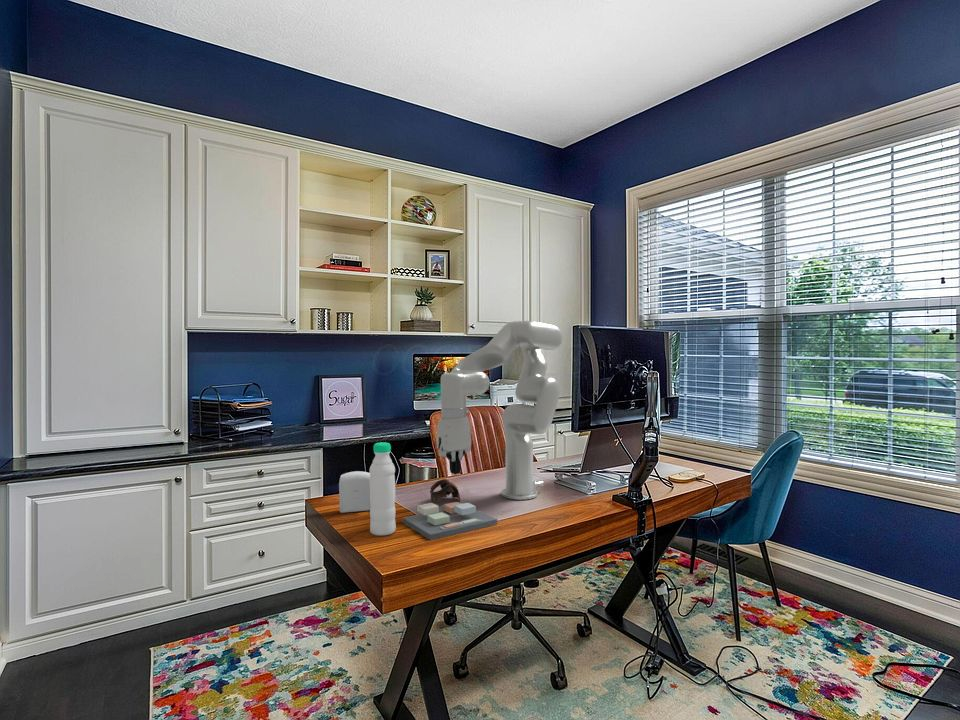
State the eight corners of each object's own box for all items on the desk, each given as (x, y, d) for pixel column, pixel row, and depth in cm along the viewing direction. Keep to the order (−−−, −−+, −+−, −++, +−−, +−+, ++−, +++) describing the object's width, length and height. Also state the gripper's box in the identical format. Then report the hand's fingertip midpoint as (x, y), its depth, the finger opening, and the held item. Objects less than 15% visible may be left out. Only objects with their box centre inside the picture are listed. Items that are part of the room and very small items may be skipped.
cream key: (431, 508, 160) (431, 502, 160) (438, 512, 157) (438, 506, 157) (417, 511, 158) (417, 505, 158) (424, 515, 154) (424, 509, 154)
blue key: (467, 508, 160) (467, 502, 160) (475, 512, 157) (475, 506, 157) (454, 511, 158) (454, 505, 158) (462, 515, 154) (462, 509, 154)
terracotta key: (457, 507, 166) (457, 501, 165) (464, 511, 162) (464, 505, 162) (443, 510, 163) (443, 504, 163) (451, 514, 159) (451, 508, 159)
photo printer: (339, 514, 165) (338, 474, 165) (339, 509, 169) (339, 471, 169) (373, 511, 168) (372, 472, 167) (372, 507, 172) (372, 469, 172)
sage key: (441, 518, 155) (441, 512, 155) (449, 522, 152) (449, 516, 152) (427, 521, 153) (427, 515, 153) (434, 525, 149) (434, 519, 149)
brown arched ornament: (463, 505, 175) (452, 486, 172) (438, 518, 175) (426, 498, 173) (461, 487, 186) (450, 468, 184) (437, 498, 187) (426, 480, 184)
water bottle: (365, 532, 149) (364, 443, 148) (386, 526, 154) (385, 440, 153) (379, 538, 144) (378, 446, 143) (400, 532, 149) (400, 443, 148)
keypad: (465, 509, 169) (465, 503, 169) (497, 524, 155) (497, 517, 155) (402, 522, 157) (402, 516, 157) (430, 540, 143) (430, 532, 143)
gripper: (467, 409, 169) (469, 467, 170) (426, 414, 160) (427, 474, 161) (481, 412, 163) (482, 471, 163) (438, 417, 154) (440, 480, 155)
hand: (455, 473), depth 162 cm, fingers closed
